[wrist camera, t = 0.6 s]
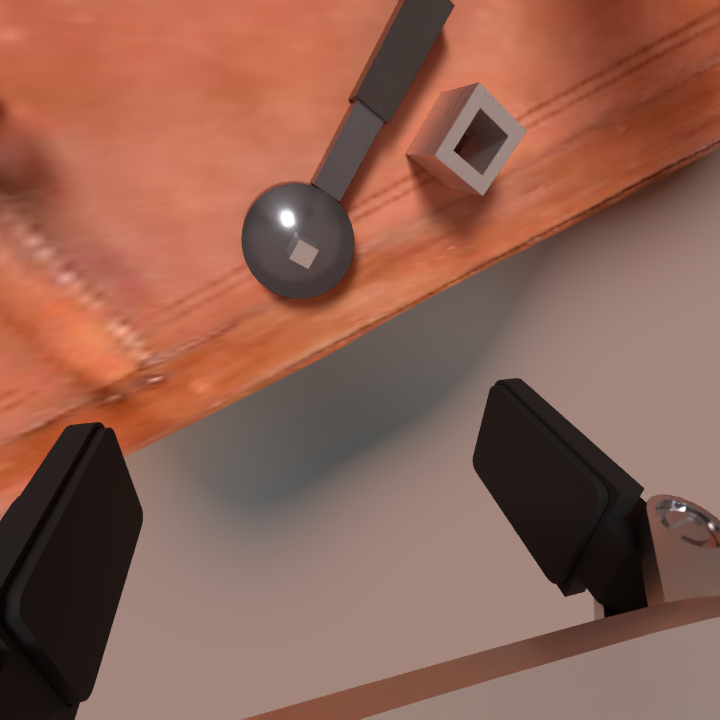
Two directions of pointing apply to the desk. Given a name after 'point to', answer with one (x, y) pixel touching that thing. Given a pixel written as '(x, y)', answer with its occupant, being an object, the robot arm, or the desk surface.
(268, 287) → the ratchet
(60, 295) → the desk surface
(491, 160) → the socket
